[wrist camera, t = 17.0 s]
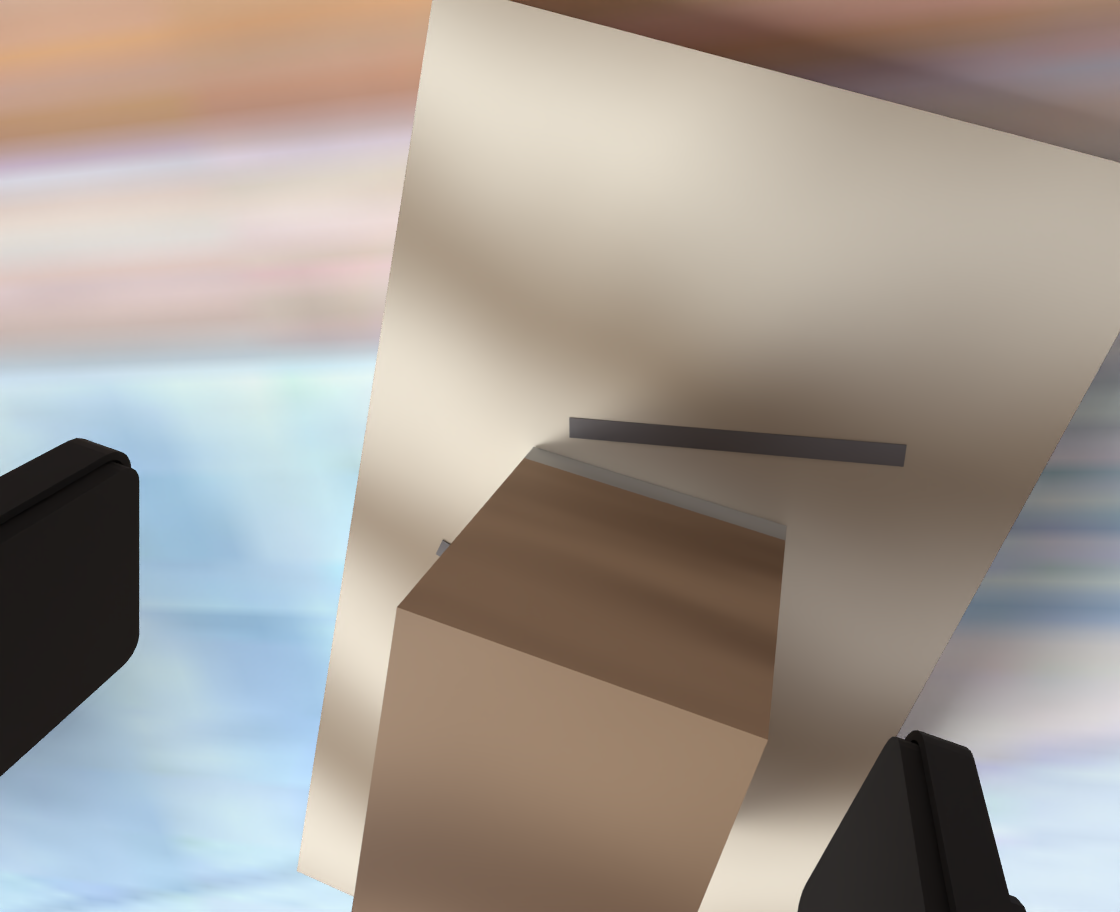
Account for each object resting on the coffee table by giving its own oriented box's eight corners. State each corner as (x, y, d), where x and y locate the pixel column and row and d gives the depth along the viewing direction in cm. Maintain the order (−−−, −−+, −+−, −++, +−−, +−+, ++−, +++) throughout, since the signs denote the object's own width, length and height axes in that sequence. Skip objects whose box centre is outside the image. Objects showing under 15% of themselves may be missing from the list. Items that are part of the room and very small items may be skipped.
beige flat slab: (468, -9, 15) (434, -20, 14) (1164, 176, 14) (1202, 184, 12) (325, 830, 25) (296, 871, 23) (723, 1006, 23) (716, 1062, 22)
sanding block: (533, 446, 17) (396, 607, 11) (786, 525, 16) (768, 740, 10) (469, 749, 20) (341, 983, 15) (675, 829, 19) (618, 1107, 14)
